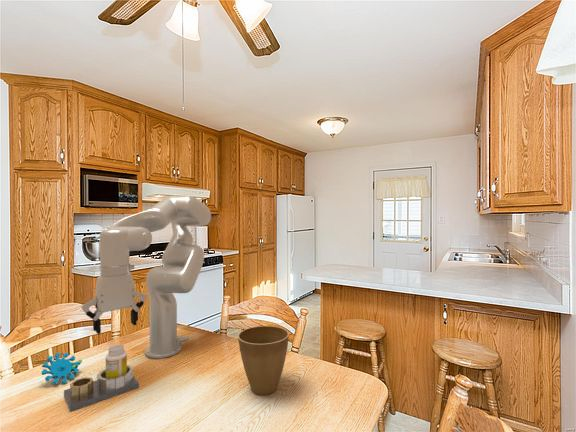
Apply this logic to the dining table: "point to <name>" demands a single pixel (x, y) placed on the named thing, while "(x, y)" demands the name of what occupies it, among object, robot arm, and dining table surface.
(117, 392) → the fitting plate
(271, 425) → the dining table surface
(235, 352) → the dining table surface
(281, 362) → the plant pot
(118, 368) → the supplement bottle
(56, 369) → the blue virus model
